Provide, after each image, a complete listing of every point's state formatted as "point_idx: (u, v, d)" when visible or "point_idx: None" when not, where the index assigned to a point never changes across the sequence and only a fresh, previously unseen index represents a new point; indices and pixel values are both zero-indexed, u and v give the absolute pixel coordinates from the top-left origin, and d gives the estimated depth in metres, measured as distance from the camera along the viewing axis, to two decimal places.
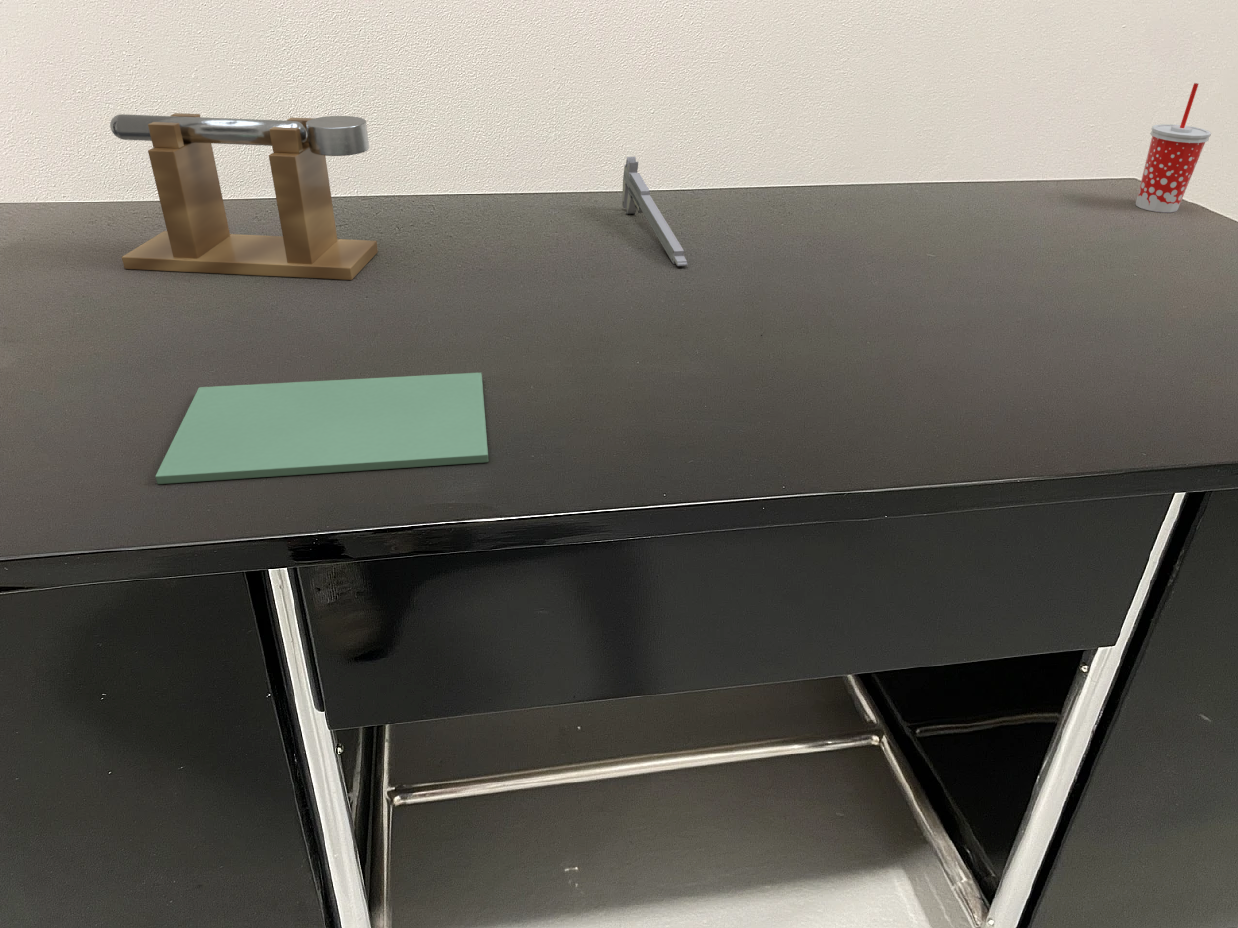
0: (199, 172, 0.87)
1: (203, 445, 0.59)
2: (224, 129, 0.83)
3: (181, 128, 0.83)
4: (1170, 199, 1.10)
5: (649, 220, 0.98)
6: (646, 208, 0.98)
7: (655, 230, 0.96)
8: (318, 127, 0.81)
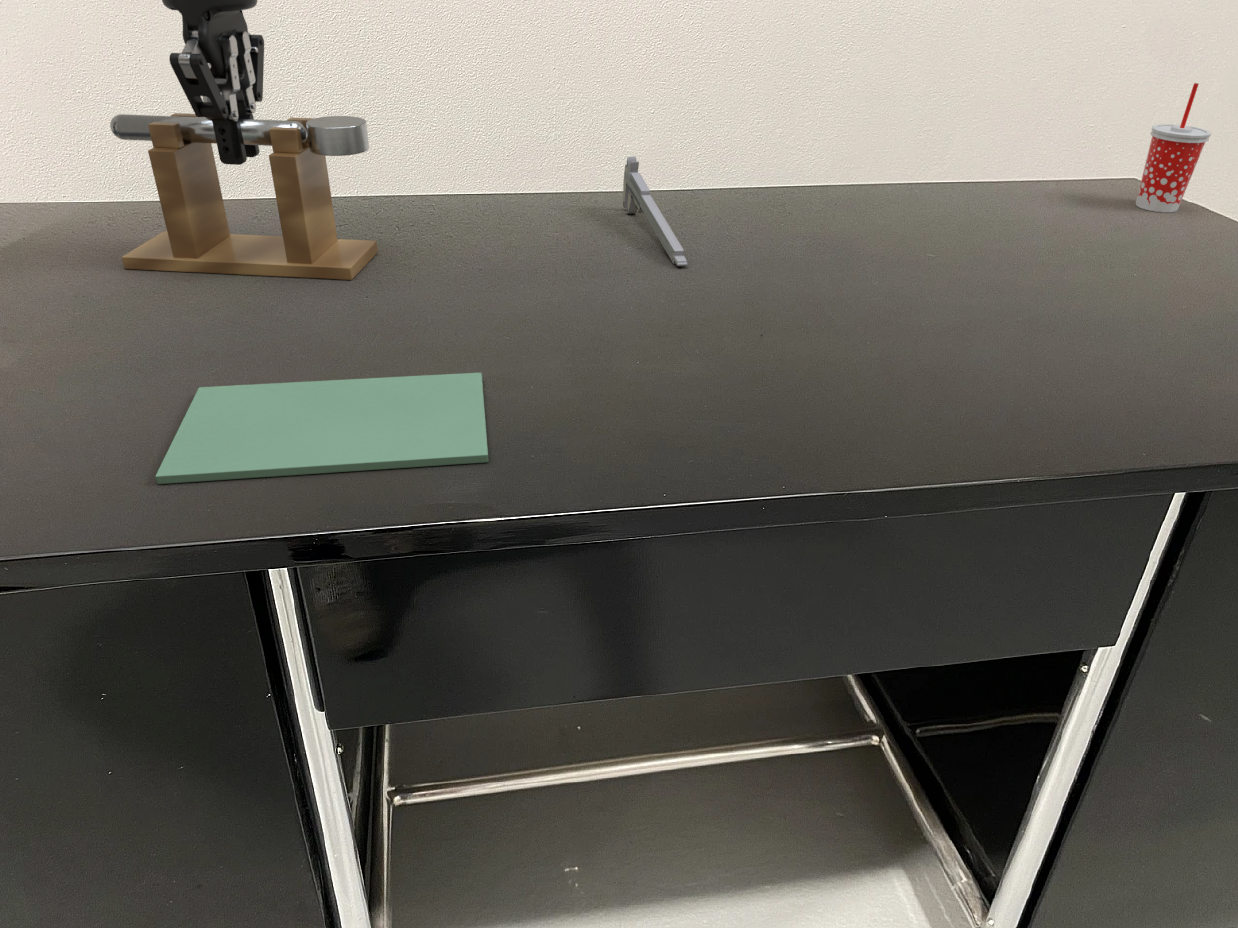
0: (199, 172, 0.87)
1: (203, 445, 0.59)
2: None
3: (181, 128, 0.83)
4: (1170, 199, 1.10)
5: (649, 220, 0.98)
6: (646, 208, 0.98)
7: (655, 230, 0.96)
8: (318, 127, 0.81)
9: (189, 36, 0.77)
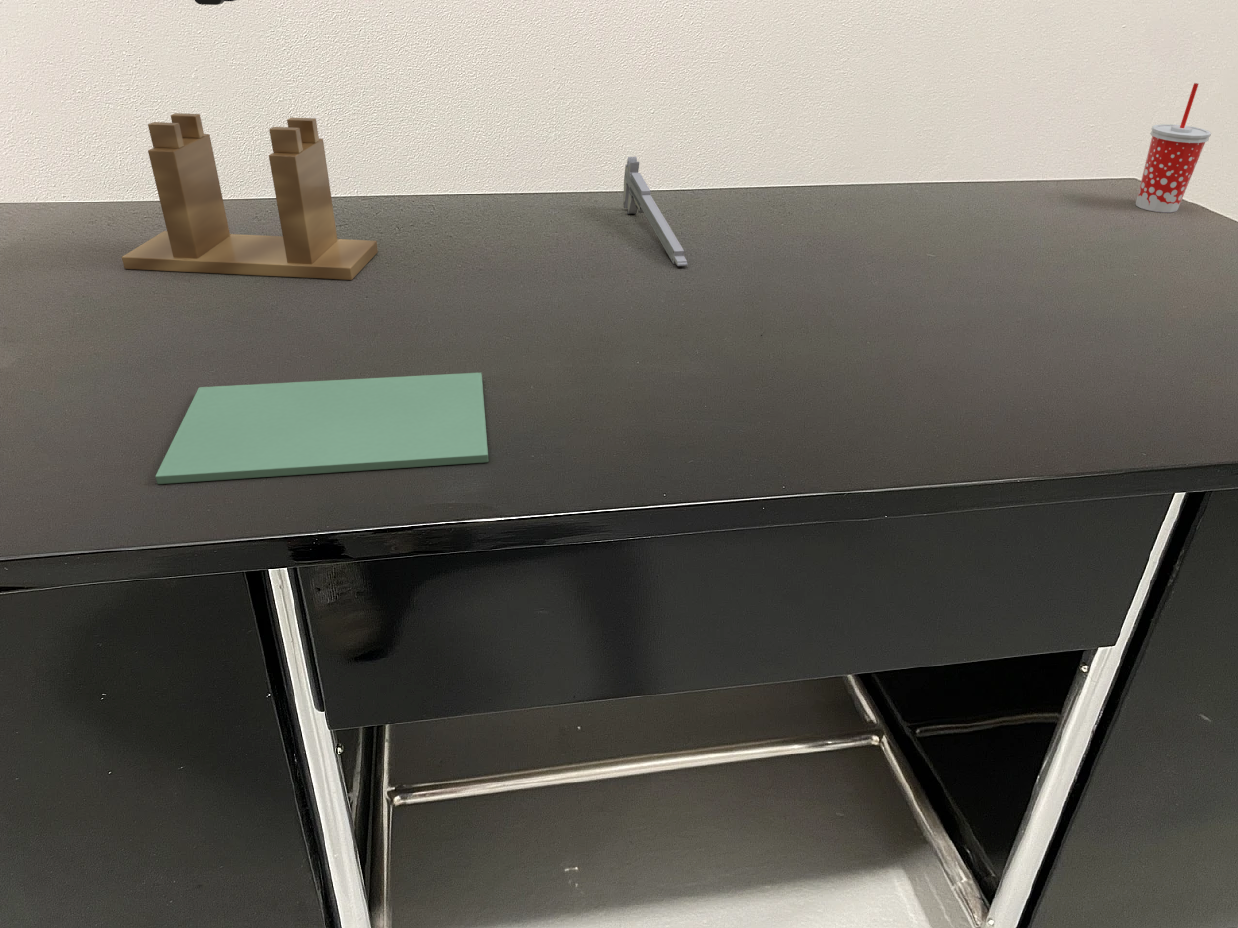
0: (199, 172, 0.87)
1: (203, 445, 0.59)
2: None
3: None
4: (1170, 199, 1.10)
5: (649, 220, 0.98)
6: (647, 208, 0.98)
7: (655, 230, 0.96)
8: None
9: None
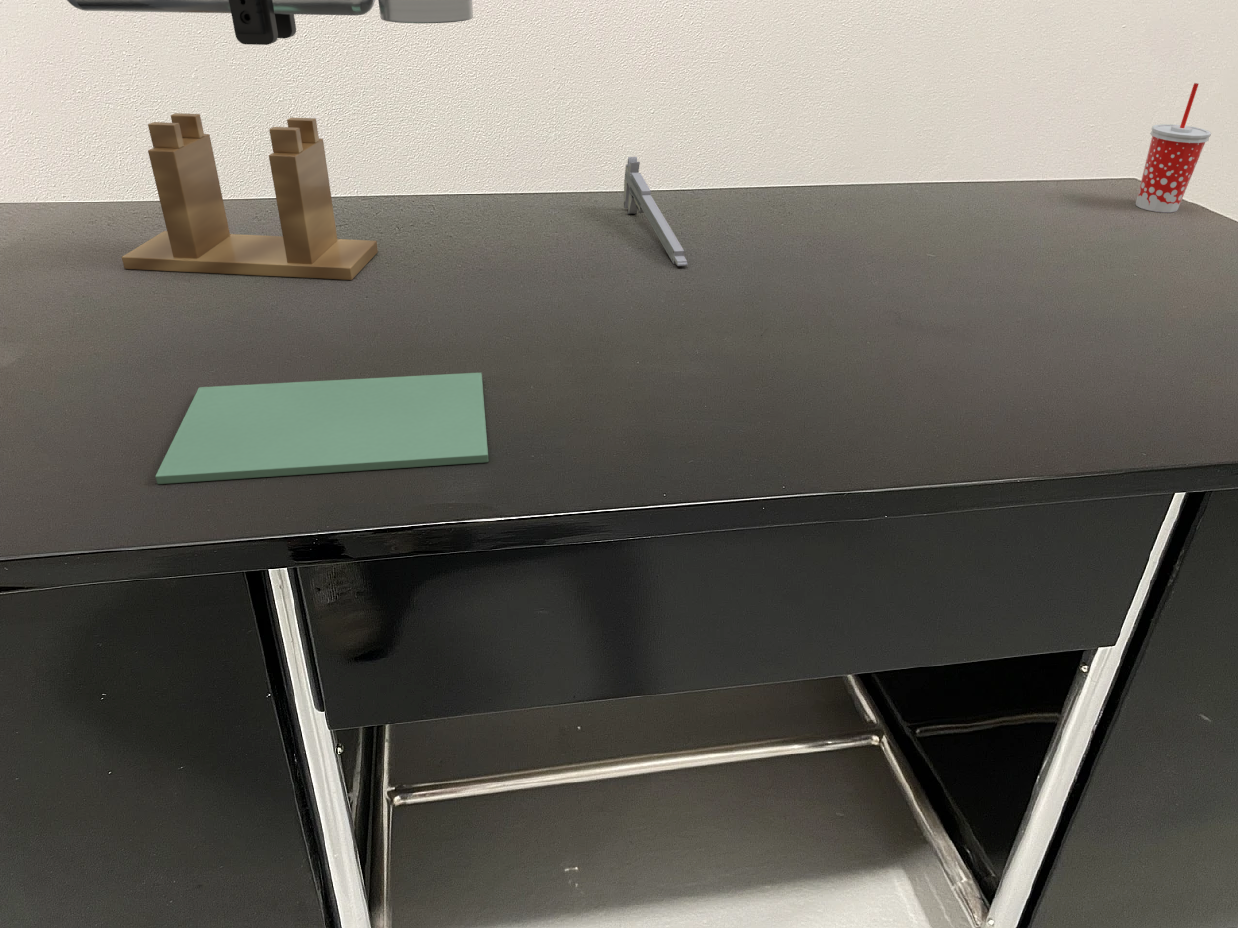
0: (199, 172, 0.87)
1: (203, 445, 0.59)
2: None
3: None
4: (1170, 199, 1.10)
5: (649, 220, 0.98)
6: (647, 208, 0.98)
7: (656, 230, 0.96)
8: None
9: None
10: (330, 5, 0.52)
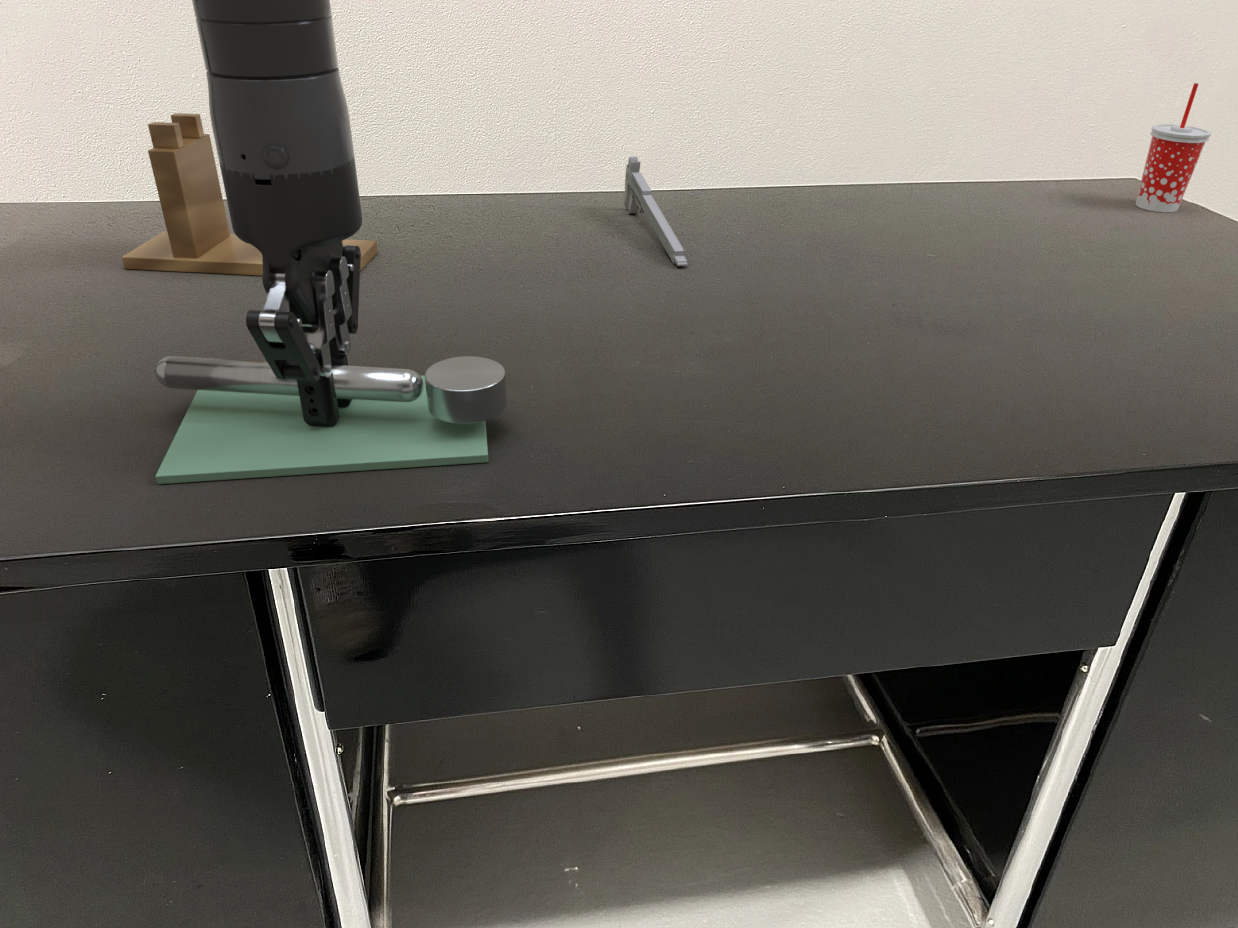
0: (199, 172, 0.87)
1: (203, 445, 0.59)
2: None
3: (252, 379, 0.61)
4: (1170, 199, 1.10)
5: (650, 220, 0.98)
6: (647, 208, 0.98)
7: (656, 230, 0.96)
8: (445, 388, 0.59)
9: (272, 281, 0.54)
10: (385, 398, 0.61)
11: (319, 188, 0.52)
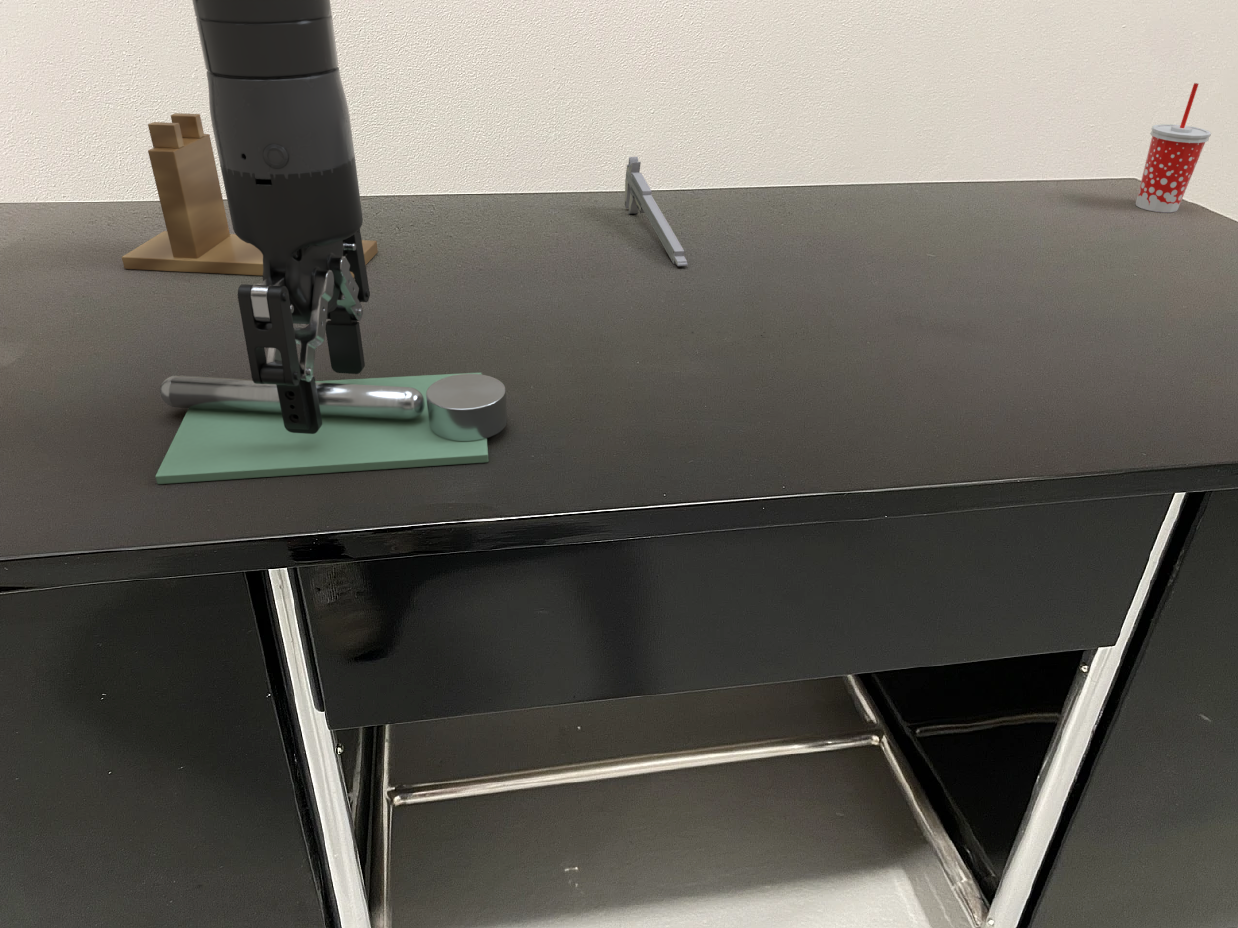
0: (199, 172, 0.87)
1: (203, 445, 0.59)
2: None
3: (256, 398, 0.62)
4: (1170, 199, 1.10)
5: (650, 220, 0.98)
6: (647, 208, 0.98)
7: (656, 230, 0.96)
8: (446, 407, 0.59)
9: (273, 274, 0.54)
10: (387, 416, 0.62)
11: (319, 188, 0.52)
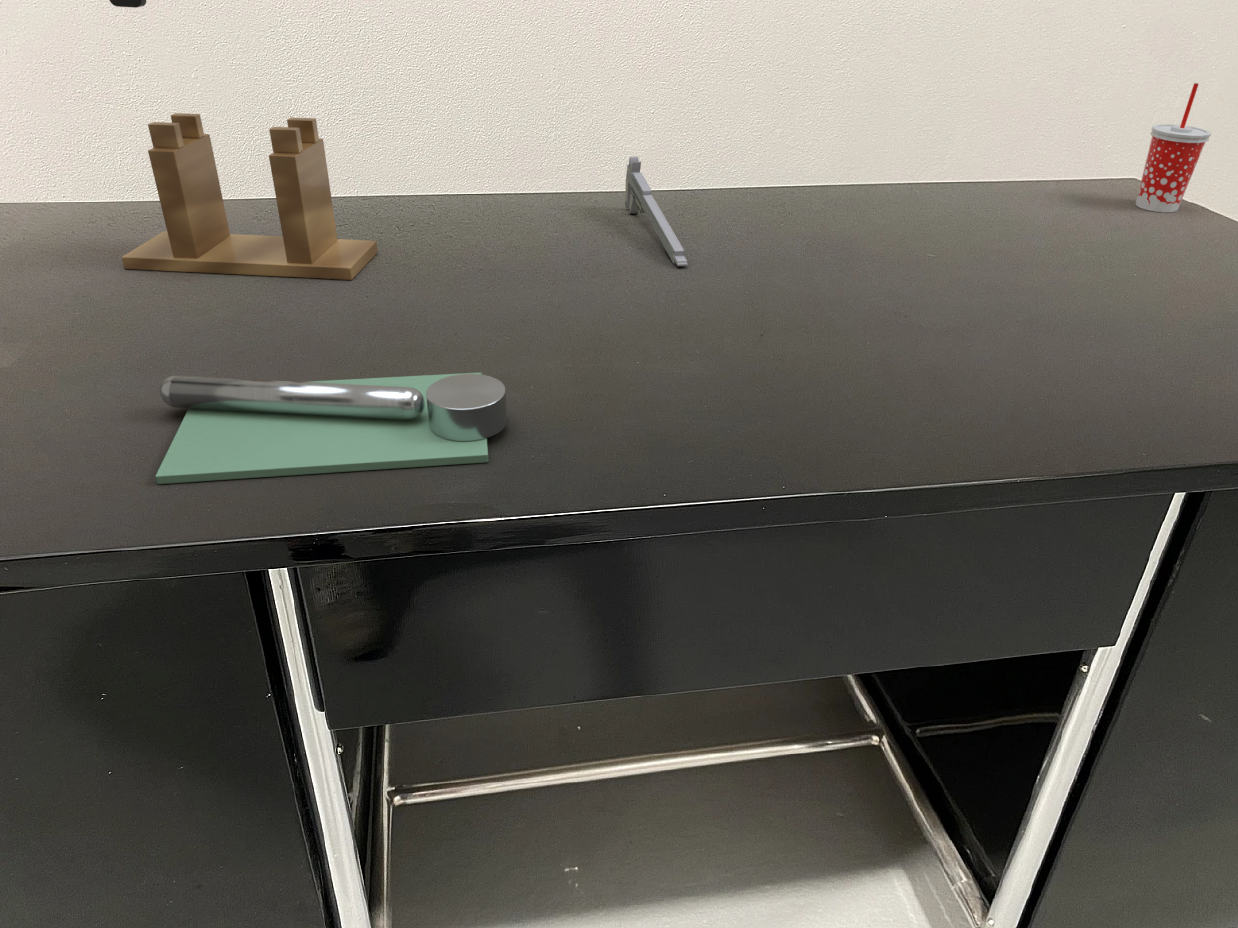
0: (199, 172, 0.87)
1: (203, 445, 0.59)
2: (315, 401, 0.62)
3: (256, 398, 0.62)
4: (1170, 199, 1.10)
5: (650, 220, 0.98)
6: (648, 208, 0.98)
7: (656, 230, 0.96)
8: (446, 407, 0.59)
9: None
10: (387, 416, 0.62)
11: None
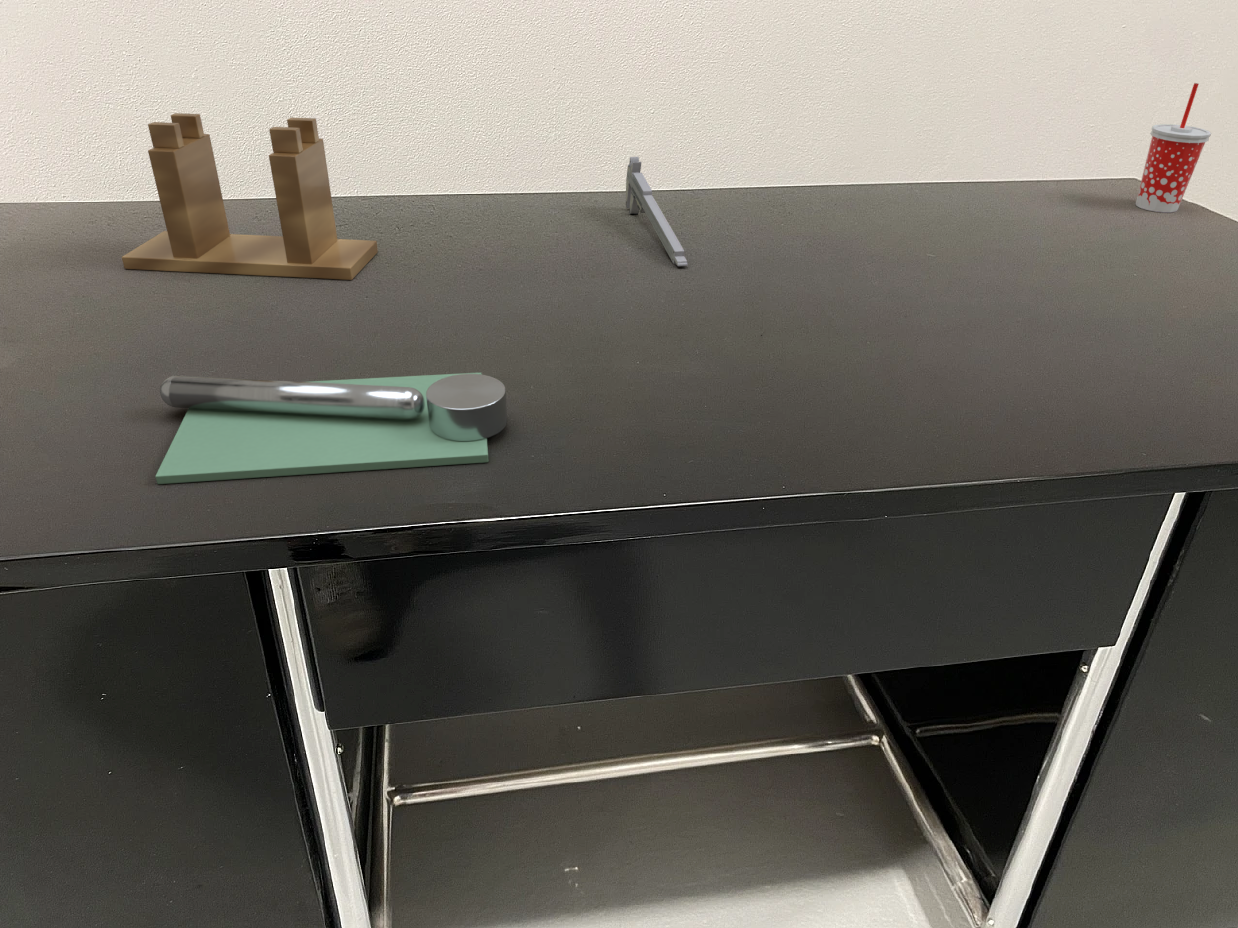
0: (199, 172, 0.87)
1: (203, 445, 0.59)
2: (315, 401, 0.62)
3: (256, 398, 0.62)
4: (1170, 199, 1.10)
5: (651, 220, 0.98)
6: (648, 208, 0.98)
7: (656, 230, 0.96)
8: (446, 407, 0.59)
9: None
10: (387, 416, 0.62)
11: None
